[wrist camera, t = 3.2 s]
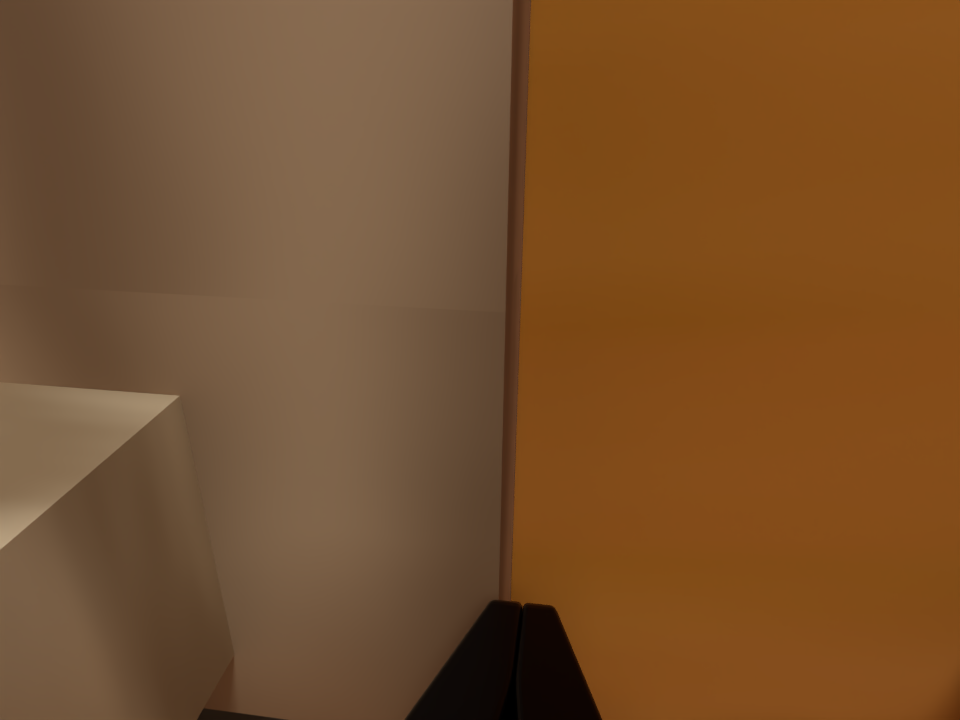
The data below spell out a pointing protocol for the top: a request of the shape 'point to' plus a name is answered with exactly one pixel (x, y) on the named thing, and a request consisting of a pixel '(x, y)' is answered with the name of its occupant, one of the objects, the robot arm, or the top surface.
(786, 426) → the top surface
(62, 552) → the maple block
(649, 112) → the top surface
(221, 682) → the board
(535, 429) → the top surface
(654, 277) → the top surface
